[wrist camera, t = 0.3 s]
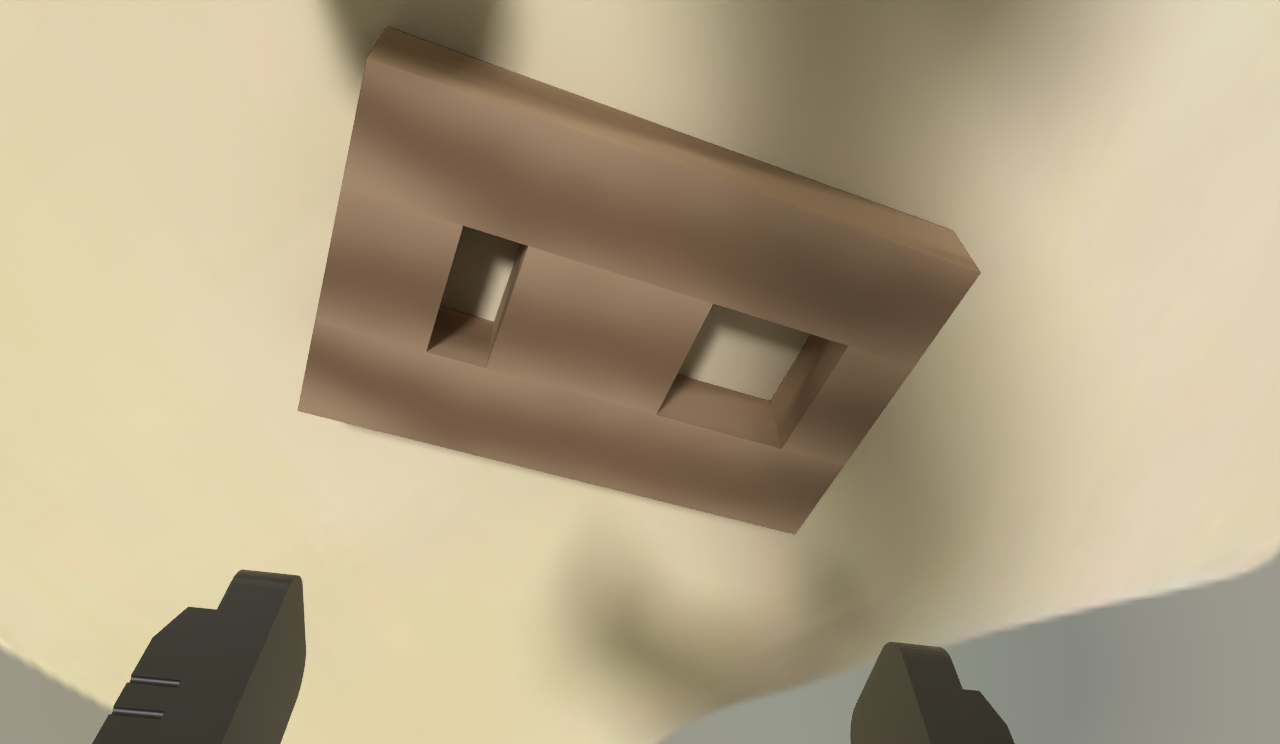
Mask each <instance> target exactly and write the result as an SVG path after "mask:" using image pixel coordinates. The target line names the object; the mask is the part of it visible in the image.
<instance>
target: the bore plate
mask: <svg viewBox="0 0 1280 744" xmlns="http://www.w3.org/2000/svg"><path fill="white" fill-rule="evenodd" d="M463 226H466V227H469V228H473V229H476V230H479V231H482V232H485V233H489V234H492V235H495V236H498V237H501V238H505V239H508V240H511V241H514V242H517V243H521V244H520V247H519V250H518V253H517V256H516V259H515V262H514V265H513V268H512V271H511V274H510V277H509V280H508V282H507V285H506V288H505V291H504V294H503V297H502V300H501V303H500V306H499V309H498V312H497V315H496V318H495V320H494V322H492V321H489V320H485V319H482V318H478V317H475V316H471V315H468V314H464V313H461V312H457V311H454V310H450V309H447V308H443V307H440V303H441V300H442V296H443V293H444V290H445V286H446V283H447V279H448V276H449V273H450V269H451V266H452V262H453V259H454V256H455V252H456V249H457V245H458V242H459V239H460V235H461V232H462V228H463ZM980 273H981V272H980V271H979V269H978V268H977V266H976V265H975V263H974V262H973V260H972V258H971V257H970V255H969V254H968V252H967V251H966V249H965V248H964V246H963V245H962V243H961V242H960V240H959V239H958V237H957V236H956V234H955V233H954V231H952V230H950V229H947V228H944V227H941V226H939V225H936V224H933V223H930V222H927V221H925V220H922V219H919V218H916V217H914V216H911V215H908V214H905V213H902V212H900V211H897V210H894V209H891V208H889V207H886V206H883V205H880V204H878V203H875V202H872V201H869V200H866V199H864V198H861V197H858V196H855V195H853V194H850V193H847V192H844V191H841V190H839V189H836V188H833V187H830V186H828V185H825V184H822V183H819V182H817V181H814V180H811V179H808V178H805V177H803V176H800V175H797V174H794V173H792V172H789V171H786V170H783V169H780V168H778V167H775V166H772V165H769V164H767V163H764V162H761V161H758V160H756V159H753V158H750V157H747V156H744V155H742V154H739V153H736V152H733V151H731V150H728V149H725V148H722V147H719V146H717V145H714V144H711V143H708V142H706V141H703V140H700V139H697V138H695V137H692V136H689V135H686V134H683V133H681V132H678V131H675V130H672V129H670V128H667V127H664V126H661V125H658V124H656V123H653V122H650V121H647V120H645V119H642V118H639V117H636V116H634V115H631V114H628V113H625V112H622V111H620V110H617V109H614V108H611V107H609V106H606V105H603V104H600V103H597V102H595V101H592V100H589V99H586V98H584V97H581V96H578V95H575V94H573V93H570V92H567V91H564V90H561V89H559V88H556V87H553V86H550V85H548V84H545V83H542V82H539V81H536V80H534V79H531V78H528V77H525V76H523V75H520V74H517V73H514V72H511V71H509V70H506V69H503V68H500V67H498V66H495V65H492V64H489V63H487V62H484V61H481V60H478V59H475V58H473V57H470V56H467V55H464V54H462V53H459V52H456V51H453V50H450V49H448V48H445V47H442V46H439V45H437V44H434V43H431V42H428V41H426V40H423V39H420V38H417V37H414V36H412V35H409V34H406V33H403V32H401V31H398V30H395V29H392V28H389V27H387V28H386V29H385V31H384V32H383V34H382V35H381V37H380V38H379V40H378V41H377V43H376V44H375V46H374V48H373V49H372V51H371V52H370V54H369V55H368V57H367V59H366V65H365V70H364V75H363V80H362V85H361V90H360V95H359V100H358V105H357V110H356V116H355V121H354V126H353V131H352V136H351V141H350V146H349V151H348V156H347V161H346V166H345V172H344V177H343V182H342V187H341V192H340V197H339V202H338V207H337V212H336V217H335V223H334V228H333V233H332V238H331V243H330V248H329V253H328V258H327V263H326V268H325V274H324V279H323V284H322V289H321V294H320V299H319V304H318V309H317V314H316V319H315V325H314V330H313V335H312V340H311V345H310V350H309V355H308V360H307V365H306V370H305V376H304V381H303V386H302V391H301V396H300V401H299V406H298V411H300V412H304V413H308V414H312V415H316V416H320V417H324V418H328V419H332V420H336V421H340V422H344V423H348V424H352V425H357V426H361V427H365V428H369V429H373V430H377V431H381V432H385V433H389V434H393V435H397V436H401V437H405V438H409V439H413V440H417V441H421V442H425V443H429V444H433V445H437V446H441V447H445V448H449V449H453V450H457V451H461V452H465V453H469V454H473V455H477V456H482V457H486V458H490V459H494V460H498V461H502V462H506V463H510V464H514V465H518V466H522V467H526V468H530V469H534V470H538V471H542V472H546V473H550V474H554V475H558V476H562V477H566V478H570V479H574V480H578V481H582V482H586V483H590V484H594V485H598V486H602V487H606V488H611V489H615V490H619V491H623V492H627V493H631V494H635V495H639V496H643V497H647V498H651V499H655V500H659V501H663V502H667V503H671V504H675V505H679V506H683V507H687V508H691V509H695V510H699V511H703V512H707V513H711V514H715V515H719V516H723V517H727V518H731V519H735V520H740V521H744V522H748V523H752V524H756V525H760V526H764V527H768V528H772V529H776V530H780V531H784V532H788V533H792V534H796V532H797V531H798V529H799V528H800V527H801V525H802V524H803V522H804V521H805V520H806V518H807V517H808V515H809V514H810V512H811V511H812V510H813V508H814V507H815V505H816V504H817V503H818V501H819V500H820V498H821V497H822V496H823V494H824V493H825V491H826V490H827V489H828V487H829V486H830V484H831V483H832V482H833V480H834V479H835V477H836V476H837V474H838V473H839V472H840V470H841V469H842V467H843V466H844V465H845V463H846V462H847V460H848V459H849V458H850V456H851V455H852V453H853V452H854V451H855V449H856V448H857V446H858V445H859V444H860V442H861V441H862V439H863V438H864V436H865V435H866V434H867V432H868V431H869V429H870V428H871V427H872V425H873V424H874V422H875V421H876V420H877V418H878V417H879V415H880V414H881V413H882V411H883V410H884V408H885V407H886V406H887V404H888V403H889V401H890V400H891V399H892V397H893V396H894V394H895V393H896V391H897V390H898V389H899V387H900V386H901V384H902V383H903V382H904V380H905V379H906V377H907V376H908V375H909V373H910V372H911V370H912V369H913V368H914V366H915V365H916V363H917V362H918V361H919V359H920V358H921V356H922V355H923V353H924V352H925V351H926V349H927V348H928V346H929V345H930V344H931V342H932V341H933V339H934V338H935V337H936V335H937V334H938V332H939V331H940V330H941V328H942V327H943V325H944V324H945V323H946V321H947V320H948V318H949V317H950V315H951V314H952V313H953V311H954V310H955V308H956V307H957V306H958V304H959V303H960V301H961V300H962V299H963V297H964V296H965V294H966V293H967V292H968V290H969V289H970V287H971V286H972V285H973V283H974V282H975V280H976V279H977V277H978V276H979V275H980ZM713 304H716V305H719V306H722V307H726V308H729V309H732V310H735V311H739V312H742V313H745V314H748V315H751V316H755V317H758V318H761V319H764V320H767V321H771V322H774V323H777V324H780V325H783V326H787V327H790V328H793V329H796V330H799V331H803V332H806V333H809V334H811V336H810V337H809V339H808V341H807V342H806V344H805V345H804V347H803V349H802V350H801V352H800V354H799V355H798V357H797V359H796V360H795V362H794V364H793V365H792V367H791V369H790V370H789V372H788V374H787V375H786V377H785V378H784V380H783V382H782V383H781V385H780V387H779V388H778V390H777V392H776V393H775V395H774V397H773V398H772V400H771V401H767V400H764V399H760V398H757V397H753V396H750V395H746V394H743V393H739V392H736V391H732V390H729V389H725V388H722V387H718V386H715V385H711V384H708V383H704V382H701V381H697V380H694V379H691V378H687V377H684V376H680V375H677V374H678V372H679V370H680V368H681V366H682V364H683V362H684V360H685V358H686V356H687V354H688V352H689V350H690V348H691V346H692V344H693V342H694V340H695V338H696V337H697V335H698V333H699V331H700V329H701V327H702V325H703V323H704V321H705V319H706V317H707V315H708V313H709V311H710V309H711V307H712V305H713Z"/></svg>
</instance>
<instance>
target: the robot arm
mask: <svg viewBox="0 0 1280 744" xmlns="http://www.w3.org/2000/svg"><path fill="white" fill-rule="evenodd" d="M305 658H306V642H305V623H304V604H303V586H302V580H301V577H300V576H297V575H288V574H278V573H269V572H260V571H251V570H240V571H239V572H238V573H237V574H236V575H235V576H234V578H233V580H232V581H231V583H230V585H229V587H228V589H227V591H226V593H225V595H224V597H223V599H222V601H221V603H220V605H219V607H218V609H217V610H214V609H204V608H195V607H188V608H186V609H185V610H184V611H183V612H182V613H181V614H179V615H178V616H177V617H176V618H175V619H174V620H173V621H171V622H170V623H169V624H168V625H167V626H166V627H164V628H163V629H162V630H161V631H160V632H159V633H158V634H156V635H155V636H154V637H153V638H152V640H151V642H150V643H149V645H148V647H147V649H146V650H145V652H144V654H143V656H142V657H141V659H140V661H139V663H138V664H137V666H136V668H135V670H134V671H133V673H132V675H131V680H130V682H129V683H127V684H126V685H125V687H124V689H123V691H122V692H121V694H120V696H119V698H118V699H117V701H116V703H115V705H114V706H113V707H114V708H113V712H112V714H111V715H108V717H107V719H106V721H105V722H104V724H103V726H102V727H101V729H100V731H99V733H98V734H97V736H96V738H95V740H94V742H93V743H92V744H280V743H281V740H282V738H283V735H284V732H285V730H286V727H287V724H288V721H289V719H290V716H291V713H292V711H293V708H294V705H295V703H296V700H297V697H298V694H299V690H300V686H301V682H302V678H303V673H304V667H305ZM851 744H1014V741H1013V739H1012V736H1011V734H1010V731H1009V729H1008V727H1007V725H1006V724H1005V722H1004V721H1003V720H1002V719H1001V717H1000V716H999V715H998V714H997V712H996V711H995V710H994V709H993V708H992V706H991V705H990V704H989V702H988V701H987V700H986V699H985V697H984V696H983V695H982V694H981V693H980V691H974V690H964V689H962V686H961V684H960V681H959V679H958V676H957V673H956V670H955V668H954V665H953V663H952V660H951V658H950V656H949V654H948V653H947V652H946V651H945V650H944V649H943V648H940V647H933V646H923V645H914V644H905V643H896V642H889V643H887V644H886V645H885V646H884V647H883V649H882V651H881V653H880V655H879V657H878V659H877V661H876V663H875V666H874V668H873V670H872V672H871V674H870V676H869V678H868V680H867V682H866V684H865V687H864V689H863V691H862V693H861V695H860V697H859V699H858V701H857V703H856V706H855V708H854V712H853V715H852V721H851Z"/></svg>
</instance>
